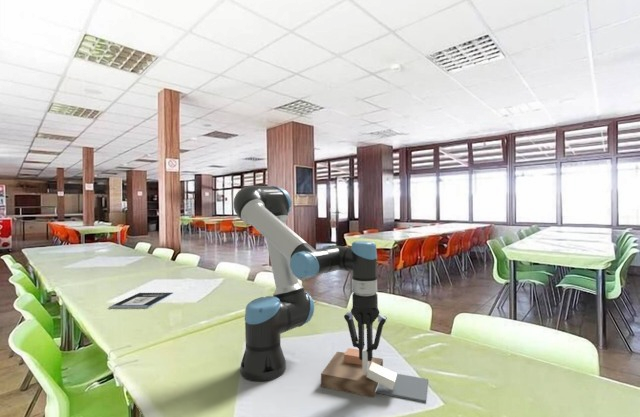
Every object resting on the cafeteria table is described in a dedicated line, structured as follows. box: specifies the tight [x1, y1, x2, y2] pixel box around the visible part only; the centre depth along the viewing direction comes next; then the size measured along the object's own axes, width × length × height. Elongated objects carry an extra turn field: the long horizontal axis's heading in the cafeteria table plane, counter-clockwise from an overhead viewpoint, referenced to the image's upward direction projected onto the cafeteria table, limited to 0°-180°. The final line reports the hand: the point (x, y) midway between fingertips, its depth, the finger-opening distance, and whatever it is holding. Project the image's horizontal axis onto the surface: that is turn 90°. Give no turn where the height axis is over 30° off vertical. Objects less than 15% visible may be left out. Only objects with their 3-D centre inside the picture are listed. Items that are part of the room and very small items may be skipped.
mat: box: [375, 373, 429, 403], centre depth 100 cm, size 14×12×1 cm
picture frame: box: [108, 292, 174, 310], centre depth 193 cm, size 22×30×2 cm
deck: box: [320, 351, 384, 398], centre depth 105 cm, size 16×16×4 cm
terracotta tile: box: [344, 347, 370, 365], centre depth 109 cm, size 8×5×2 cm, turn 69°
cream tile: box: [366, 362, 398, 390], centre depth 98 cm, size 8×5×2 cm, turn 69°
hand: (366, 370), depth 100 cm, fingers closed
